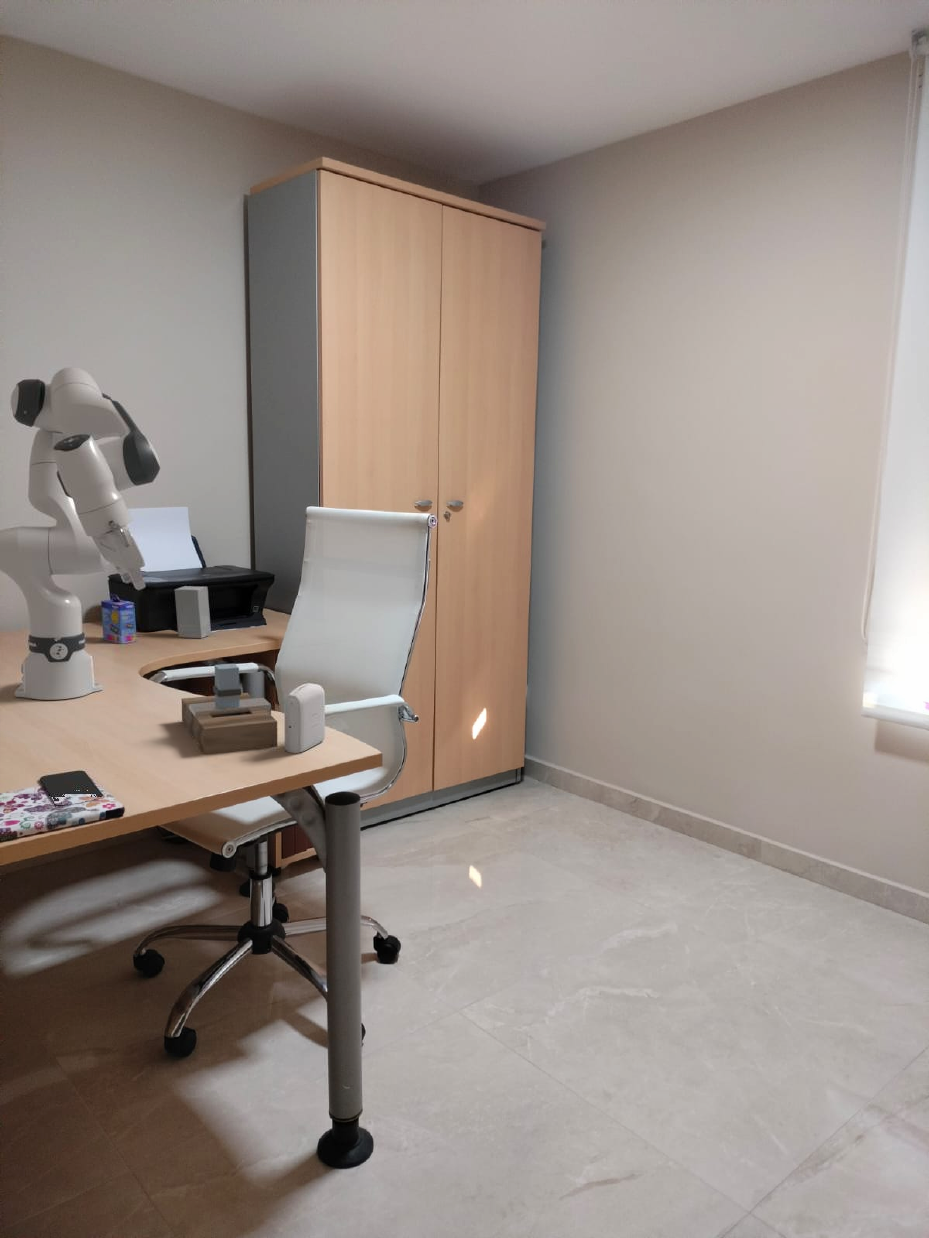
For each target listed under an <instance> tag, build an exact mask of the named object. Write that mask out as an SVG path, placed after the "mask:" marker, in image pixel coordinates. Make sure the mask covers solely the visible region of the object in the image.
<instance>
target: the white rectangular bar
mask: <svg viewBox="0 0 929 1238" xmlns="http://www.w3.org/2000/svg"><path fill="white" fill-rule="evenodd" d="M189 709H190V711H191V712H192V713H193V715H194V716H195V717H197V716H207V715H218V714H228V713H239V712H249V711H259V710H266V711H267V712H268V713H269V714H270V715H271V716H272V705H271V703H270V702H269V701H268V700H267V699H265V697H256V698H253V699H243V700H239V706H236V707H225V708H219V707H218V706H217V705H216V703H215V702H210V703H199V704H189Z"/></svg>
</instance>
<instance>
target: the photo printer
mask: <svg viewBox="0 0 929 1238" xmlns="http://www.w3.org/2000/svg"><path fill="white" fill-rule="evenodd" d="M325 693H326V692H325V690H324V689H323V686H321V684H316V683H304V684H302V685H301V684H300V685H299V686H297V687H296V688H294V689H292V690H291V691H290V692H289V693H288V694H287V695H286V697H285V699H284V704H283V706H284V707H283V708H284V711H283V712H284V750H286V752H287V753H290V754H300V753H303V752H304V751H308V750H309V749H311V748H312V747H315V746H316V745H318V744H320V743H321V742H323V741H324V740H325V737H326V709H325V708H326V696H325V695H326V694H325Z"/></svg>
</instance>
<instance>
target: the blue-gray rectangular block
mask: <svg viewBox="0 0 929 1238" xmlns="http://www.w3.org/2000/svg"><path fill="white" fill-rule="evenodd" d="M212 687H213V688H212V691H213V694H214V696H215V703H216V705H217V706H218V707H219V708H225V707H236V706H239V695H241V693H242V689H241V687H240V667H239V666H238V665H237V664H236V663H224V664H214V685H212Z"/></svg>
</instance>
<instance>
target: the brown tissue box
mask: <svg viewBox="0 0 929 1238" xmlns="http://www.w3.org/2000/svg"><path fill="white" fill-rule="evenodd" d="M243 699H254V698H253V697H252V696H251V694H250V693H248V692H243V693H242V692H241V695H239V700H243ZM210 702H215V695H208V696H195V697H187V698H186V697H185V698H184V697H183V698H181V722H182V721H183V722H184V723H183V722H182V723H183V725H184V724H185V725H184V726H185V728H186V727H187V728H188V729H187V728H186V729H187V730H189V731H188V732H189V734H190V733H191V734H190V735H191V736H193V737H192V739H194V741H195V740H196V741H195V743H196V744H197V743H198V744H197V745H198V746H200V747H199V748H200V750H201V749H202V750H201V751H202V753H203V754H204V755H210V754H211V755H212V754H217V753H218V754H219V753H227V752H228V753H229V752H236V751H237V752H238V751H246V750H253V749H263V748H270V747H278V720H277V719H275V718H274V716H272V714H271V715H270V714H269V713H268V712H267V711H266V710H259V711H249V712H239V713H228V714H218V715H207V716H197V717H195V716H194V715H193V713H192V712H191V711H190V709H189V704H199V703H210Z"/></svg>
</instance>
